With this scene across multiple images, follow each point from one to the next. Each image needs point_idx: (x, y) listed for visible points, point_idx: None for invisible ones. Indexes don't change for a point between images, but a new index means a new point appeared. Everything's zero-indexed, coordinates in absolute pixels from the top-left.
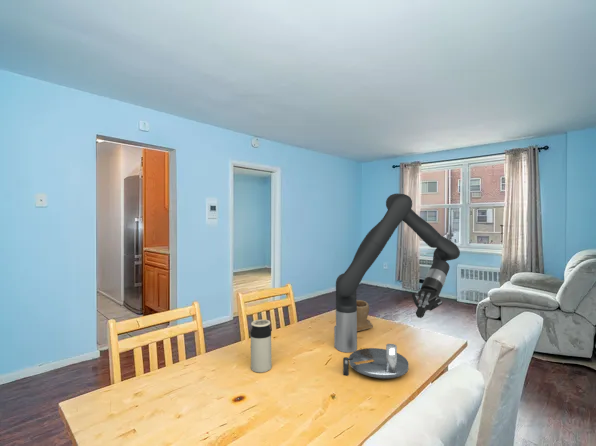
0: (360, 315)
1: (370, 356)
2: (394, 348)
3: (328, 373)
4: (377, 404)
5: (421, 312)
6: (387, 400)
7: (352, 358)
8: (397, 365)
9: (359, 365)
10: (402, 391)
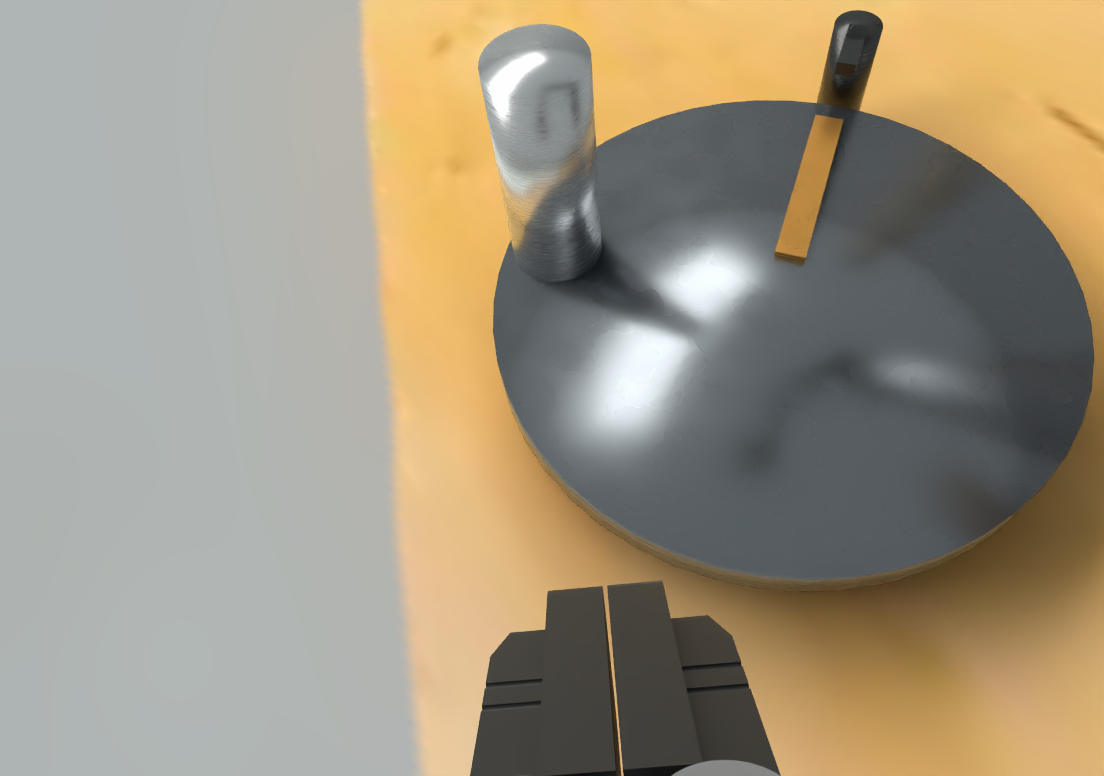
0: None
1: (881, 292)
2: (482, 59)
3: (907, 65)
4: (449, 82)
5: (541, 688)
6: (434, 138)
7: (837, 63)
8: (587, 347)
9: (779, 128)
10: (426, 262)
